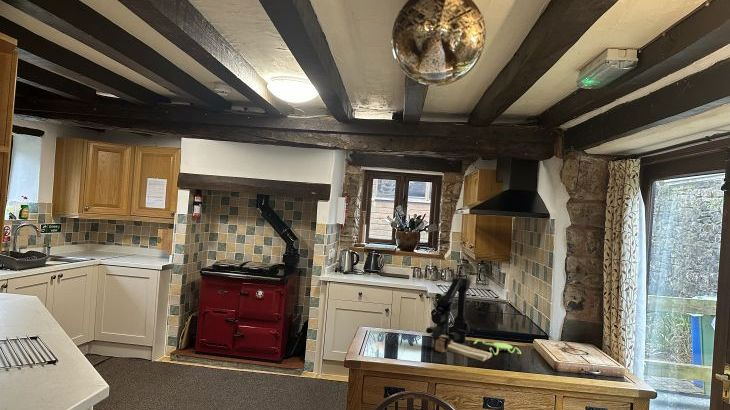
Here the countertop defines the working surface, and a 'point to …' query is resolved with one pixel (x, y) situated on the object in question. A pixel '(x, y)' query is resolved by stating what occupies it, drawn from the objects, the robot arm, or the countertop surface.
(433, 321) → the robot arm
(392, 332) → the countertop surface
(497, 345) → the figurine
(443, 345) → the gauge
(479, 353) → the board
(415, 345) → the countertop surface
